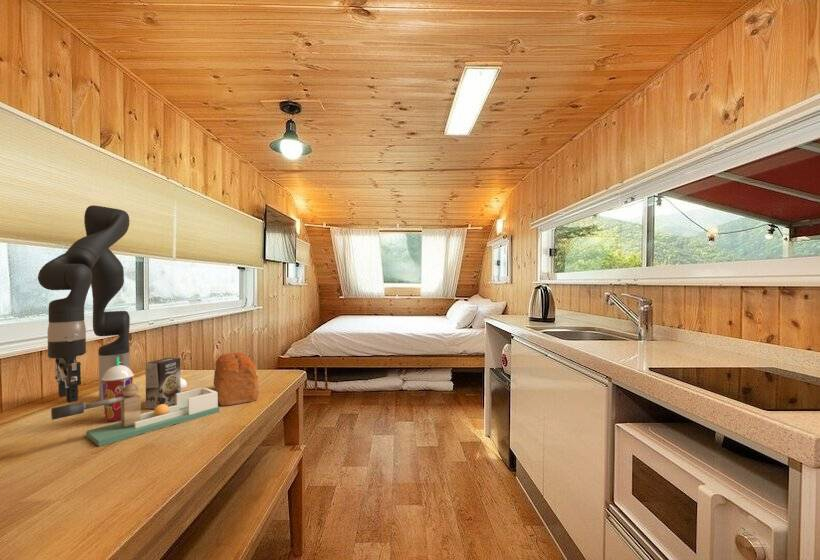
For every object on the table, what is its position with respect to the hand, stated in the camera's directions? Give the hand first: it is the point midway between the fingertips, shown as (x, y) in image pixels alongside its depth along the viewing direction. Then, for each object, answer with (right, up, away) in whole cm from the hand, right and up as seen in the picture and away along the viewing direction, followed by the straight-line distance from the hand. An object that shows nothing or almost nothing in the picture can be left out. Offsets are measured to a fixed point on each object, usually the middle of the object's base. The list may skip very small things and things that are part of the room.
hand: (68, 398), depth 99 cm
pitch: (+13, -13, +17) cm, 25 cm away
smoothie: (-3, -13, +21) cm, 25 cm away
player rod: (+4, -11, +5) cm, 13 cm away
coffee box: (+3, -13, +34) cm, 37 cm away
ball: (+13, -9, +18) cm, 24 cm away
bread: (+24, -13, +45) cm, 53 cm away
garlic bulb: (-5, -14, +55) cm, 57 cm away
